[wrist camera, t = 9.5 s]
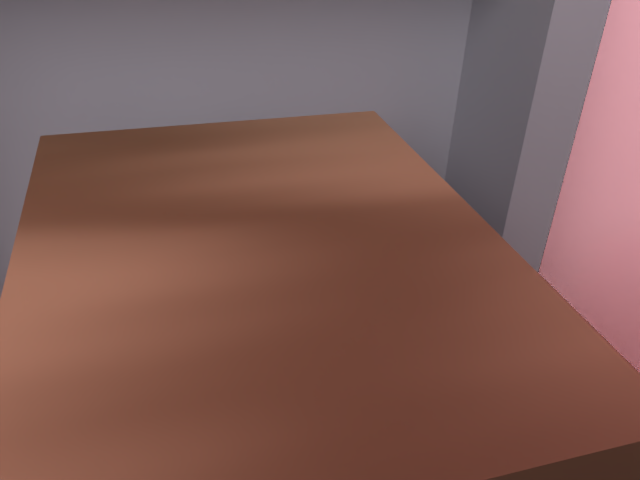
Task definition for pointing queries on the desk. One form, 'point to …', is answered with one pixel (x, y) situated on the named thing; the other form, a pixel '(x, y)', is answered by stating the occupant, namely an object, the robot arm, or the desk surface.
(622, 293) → the desk surface
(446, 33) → the tray
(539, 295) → the walnut block
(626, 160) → the desk surface
